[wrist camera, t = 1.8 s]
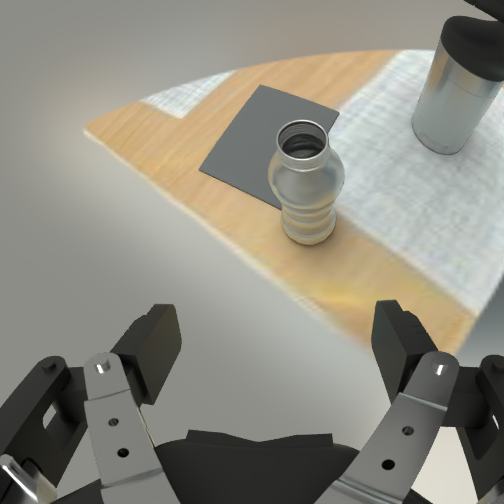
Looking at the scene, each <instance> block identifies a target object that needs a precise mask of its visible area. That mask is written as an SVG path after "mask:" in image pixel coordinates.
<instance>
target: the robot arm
mask: <svg viewBox="0 0 504 504" xmlns="http://www.w3.org/2000/svg"><path fill="white" fill-rule="evenodd" d="M464 1H466V2H467V3H469V4H471V5H475V7H476V8H478V9H480V10H482V11H484V12H485V13H487V14H489V15H490V16H492V17H494V18H495V19H497V20H498V21H486V20H480V19H476V18H471V17H467V16H453V17H450V18H449V19H448V20H447V21H446V22H445V24H444V26H443V30H442V33H441V36H440V40H439V43H438V46H437V49H436V52H435V56H434V59H433V62H432V65H431V68H430V71H429V74H428V76H427V79H426V82H425V85H424V88H423V90H422V93H421V96H420V99H419V101H418V104H417V106H416V109H415V112H414V114H413V117H412V126H413V129H414V132H415V134H416V135H417V137H418V138H419V139H420V141H421V142H422V143H423V144H424V145H426V146H427V147H428V148H430V149H431V150H433V151H435V152H438V153H441V154H454V153H456V152H458V151H459V150H460V149H461V147H462V146H463V145H464V143H465V142H466V140H467V139H468V137H469V136H470V135H471V133H472V132H473V130H474V129H475V128H476V126H477V125H478V123H479V122H480V120H481V119H482V117H483V116H484V114H485V113H486V111H487V109H488V108H489V106H490V105H491V103H492V102H493V100H494V99H495V97H496V95H497V94H498V92H499V90H500V89H501V87H502V85H503V84H504V0H464ZM181 341H182V340H181V333H180V329H179V324H178V319H177V314H176V309H175V307H174V305H173V304H155V305H154V306H153V307H152V308H151V310H150V311H149V312H148V313H147V315H143V316H141V317H140V318H138V319H137V320H135V321H134V322H133V323H132V325H131V326H130V327H129V330H127V331H126V332H125V333H124V335H123V336H122V337H121V338H120V340H119V341H118V342H117V344H116V345H115V346H114V347H113V349H112V350H111V351H110V352H108V353H107V352H105V353H100V354H96V355H94V356H93V357H91V358H89V359H88V360H87V361H86V362H85V364H84V367H72V368H68V366H67V364H66V362H65V360H64V358H62V357H60V356H50V357H47V358H45V359H43V360H41V361H40V362H38V363H37V364H36V366H35V367H34V368H33V369H32V370H31V371H30V373H29V374H28V375H27V376H26V377H25V378H24V380H23V381H22V382H21V383H20V384H19V385H18V387H17V388H16V389H15V390H14V392H13V393H12V394H11V395H10V396H9V398H8V399H7V400H6V401H5V403H4V404H3V405H2V407H1V408H0V504H433V503H431V502H430V501H428V500H427V499H425V498H424V497H422V496H421V495H420V494H418V493H417V492H415V491H414V490H412V489H411V486H412V485H413V483H414V481H415V479H416V477H417V475H418V473H419V472H420V470H421V468H422V466H423V464H424V462H425V460H426V458H427V456H428V453H429V451H430V449H431V447H432V445H433V443H434V440H435V438H436V436H437V433H438V431H439V428H440V426H443V427H456V430H457V433H458V435H459V439H460V442H461V444H462V447H463V451H464V454H465V456H466V459H467V463H468V466H469V469H470V473H471V476H472V480H473V483H474V486H475V490H476V494H477V498H478V503H477V504H504V357H503V356H500V355H489V356H486V357H485V358H484V359H483V360H482V361H481V364H480V367H479V368H478V367H462V366H459V362H458V361H457V359H456V358H455V357H454V356H452V355H451V354H448V353H446V352H442V351H439V350H438V349H437V347H436V346H435V344H434V342H433V341H432V339H431V338H430V336H429V335H428V333H426V330H425V328H424V327H423V326H422V324H421V322H420V321H419V319H418V318H417V317H416V316H415V315H413V314H412V313H410V312H409V311H403V310H402V308H401V307H400V305H399V304H398V302H397V301H396V300H382V301H377V303H376V307H375V314H374V322H373V329H372V337H371V342H372V349H373V352H374V355H375V358H376V361H377V363H378V366H379V369H380V372H381V375H382V378H383V381H384V384H385V387H386V390H387V393H388V396H389V399H390V402H391V407H390V408H389V410H388V412H387V413H386V415H385V416H384V418H383V419H382V421H381V422H380V424H379V426H378V427H377V428H376V430H375V431H374V433H373V435H372V436H371V437H370V439H369V440H368V442H367V443H366V444H365V446H364V447H363V449H362V450H361V451H359V450H356V449H354V448H351V447H348V446H345V445H341V444H334V443H333V439H332V433H331V434H315V435H314V434H313V435H294V436H289V437H284V438H279V439H274V440H268V441H263V442H255V441H251V440H247V439H243V438H239V437H235V436H232V435H228V434H225V433H218V432H206V431H198V430H189V431H188V434H187V437H186V439H180V440H175V441H170V442H167V443H164V444H161V445H158V446H155V443H154V441H153V439H152V436H151V434H150V432H149V430H148V427H147V425H146V422H145V420H144V418H143V415H142V413H141V411H140V406H141V404H142V403H144V404H149V405H154V403H155V401H156V399H157V397H158V395H159V392H160V391H161V389H162V387H163V385H164V383H165V381H166V378H167V376H168V374H169V372H170V370H171V368H172V366H173V364H174V362H175V360H176V358H177V356H178V354H179V352H180V350H181V344H182V343H181ZM51 404H52V405H53V407H54V409H55V410H56V414H55V415H54V417H53V418H52V420H51V421H50V423H49V424H48V426H47V427H46V429H45V428H44V426H43V417H44V414H45V413H46V412H47V410H48V409H49V407H50V406H51ZM493 415H494V416H495V418H496V420H497V423H498V427H499V430H498V428H497V426H496V423H495V421H494V419H493ZM87 428H88V429H89V434H90V438H91V442H92V447H93V452H94V456H95V459H96V464H97V467H98V471H99V475H100V479H98V480H96V481H94V482H92V483H90V484H88V485H86V486H84V487H82V488H80V489H78V490H76V491H74V492H72V493H70V494H68V495H66V496H64V497H61V498H59V499H57V491H56V488H57V485H58V483H59V482H60V480H61V478H62V475H63V473H64V472H65V470H66V468H67V465H68V464H69V462H70V460H71V458H72V456H73V454H74V452H75V450H76V448H77V447H78V445H79V443H80V441H81V439H82V437H83V435H84V433H85V432H86V430H87Z"/></svg>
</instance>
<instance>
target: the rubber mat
mask: <svg viewBox="0 0 504 504" xmlns="http://www.w3.org/2000/svg"><path fill="white" fill-rule="evenodd" d="M338 115H339V112H337V111H335V110H332V109H330V108H327V107H325V106H322V105H319V104H317V103H314V102H311V101H309V100H306V99H303V98H300V97H297V96H295V95H292V94H289V93H286V92H283V91H280V90H276V89H273V88H270V87H267V86H264V85H259V87H258V88H257V89H256V90H255V92H254V93H253V94H252V96H251V97H250V98H249V99H248V101H247V102H246V103H245V105H244V106H243V107H242V109H241V110H240V111H239V113H238V114H237V115H236V117H235V118H234V119H233V121H232V122H231V123H230V125H229V126H228V128H227V129H226V130H225V132H224V133H223V135H222V136H221V137H220V139H219V140H218V142H217V143H216V144H215V146H214V147H213V149H212V150H211V152H210V153H209V154H208V156H207V157H206V159H205V160H204V162H203V163H202V165H201V166H200V168H199V171H202V172H204V173H206V174H208V175H210V176H212V177H214V178H217V179H219V180H221V181H223V182H225V183H227V184H229V185H231V186H233V187H235V188H238V189H240V190H242V191H244V192H246V193H248V194H250V195H252V196H254V197H256V198H258V199H260V200H262V201H264V202H266V203H268V204H270V205H272V206H274V207H276V208H278V209H280V210H282V204H281V202H280V201H279V199H278V198H277V197H276V195H275V194H274V193H273V191H272V189H271V186H270V184H269V181H268V168H269V164H270V161H271V159H272V157H273V155H274V153H275V152H276V151H277V145H276V136H277V133H278V131H279V130H280V129H281V127H282V126H284V125H285V124H287V123H288V122H291V121H294V120H299V119H305V120H310V121H314V122H316V123H318V124H319V125H321V126H322V127H323V128H324V129H325V131H326V133H327V134H328V132H329V130H330V129H331V127H332V125H333V124H334V122H335V120H336V118H337V117H338Z"/></svg>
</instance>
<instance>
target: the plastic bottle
mask: <svg viewBox="0 0 504 504" xmlns="http://www.w3.org/2000/svg"><path fill="white" fill-rule="evenodd" d="M276 145H277V151H276V152H275V153H274V155H273V157H272V159H271V161H270V164H269V168H268V181H269V184H270V186H271V189H272V191H273V193H274V194H275V195H276V197H277V198H278V199H279V201H280V202H281V204H282V211H281V224H282V227H283V229H284V231H285V232H286V234H287V235H288V236H289V237H290V238H291V239H293V240H294V241H296V242H298V243H300V244H305V245H313V244H317V243H320V242H322V241H323V240H325V239H326V238H327V237H328V236H329V235H330V234H331V233H332V231H333V229H334V227H335V223H336V214H335V210H334V207H333V205H334V202H335V200H336V198H337V197H338V195H339V193H340V191H341V189H342V186H343V184H344V179H345V172H344V167H343V164H342V162H341V160H340V158H339V156H338V154H337V153H336V152H335V151H334V150H333V149H332V148H331V147H330V146H329V138H328V135H327V133H326V131H325V129H324V128H323V127H322V126H321V125H319V124H318V123H316V122H314V121H310V120H305V119H299V120H294V121H291V122H288V123H287V124H285V125H284V126H282V127H281V129H280V130H279V131H278V133H277V136H276Z"/></svg>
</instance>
